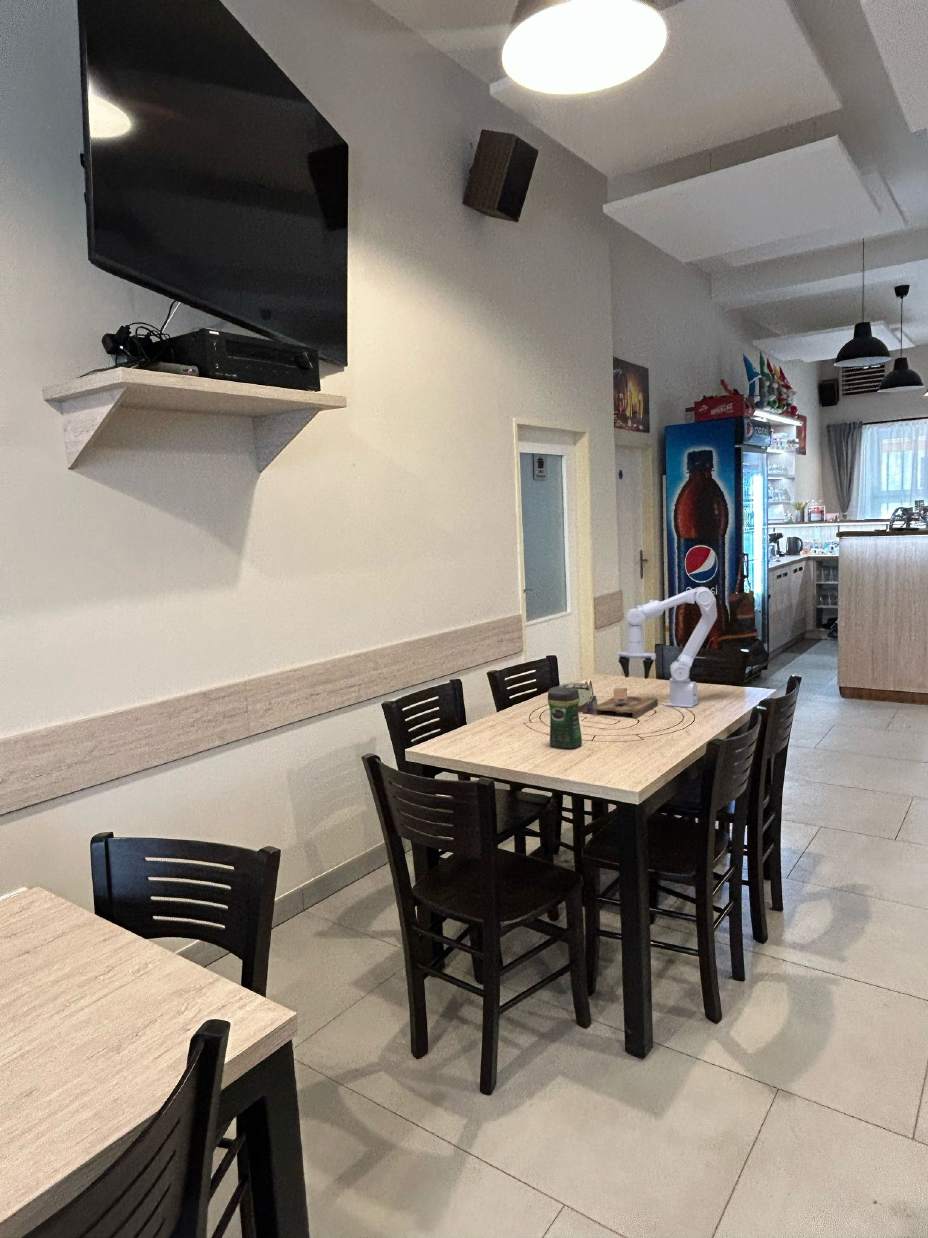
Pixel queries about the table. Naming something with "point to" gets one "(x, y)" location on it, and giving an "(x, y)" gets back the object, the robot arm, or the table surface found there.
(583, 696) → the food container
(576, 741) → the coffee jar
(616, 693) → the key peg
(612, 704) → the keyhole plate
